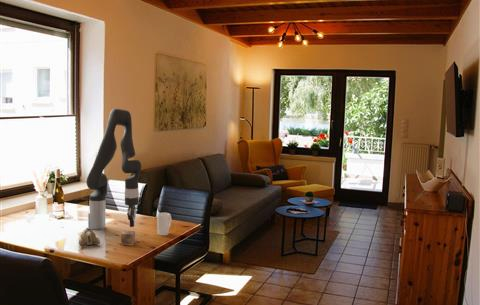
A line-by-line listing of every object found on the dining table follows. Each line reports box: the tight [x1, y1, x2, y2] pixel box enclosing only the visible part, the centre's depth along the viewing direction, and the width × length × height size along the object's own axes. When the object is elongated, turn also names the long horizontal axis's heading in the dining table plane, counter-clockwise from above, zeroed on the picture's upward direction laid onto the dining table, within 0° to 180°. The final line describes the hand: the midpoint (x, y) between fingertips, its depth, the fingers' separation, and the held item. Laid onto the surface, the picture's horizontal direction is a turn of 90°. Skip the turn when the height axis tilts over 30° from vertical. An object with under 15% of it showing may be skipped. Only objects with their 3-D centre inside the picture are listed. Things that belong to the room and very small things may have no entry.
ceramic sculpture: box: [78, 227, 101, 247], centre depth 241 cm, size 11×9×15 cm
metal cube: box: [120, 230, 136, 246], centre depth 245 cm, size 6×6×6 cm
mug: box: [156, 212, 173, 236], centre depth 265 cm, size 10×7×12 cm, turn 143°
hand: (132, 226), depth 251 cm, fingers closed
